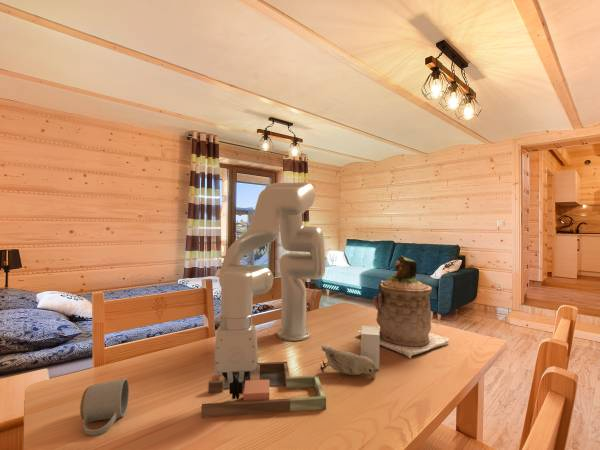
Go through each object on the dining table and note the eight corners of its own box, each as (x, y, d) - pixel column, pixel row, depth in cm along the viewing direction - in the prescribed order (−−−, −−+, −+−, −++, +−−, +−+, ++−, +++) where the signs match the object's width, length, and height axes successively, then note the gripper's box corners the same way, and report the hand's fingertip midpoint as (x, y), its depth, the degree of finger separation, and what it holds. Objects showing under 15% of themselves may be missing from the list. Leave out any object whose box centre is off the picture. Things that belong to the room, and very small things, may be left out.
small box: (379, 370, 93) (380, 335, 93) (360, 368, 94) (360, 333, 94) (378, 358, 101) (378, 326, 101) (360, 357, 102) (361, 325, 102)
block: (245, 396, 79) (245, 380, 79) (269, 395, 79) (269, 379, 79) (243, 410, 73) (243, 393, 73) (269, 409, 73) (269, 392, 73)
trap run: (214, 373, 90) (214, 365, 90) (311, 368, 94) (311, 360, 94) (201, 417, 70) (201, 406, 70) (326, 408, 74) (326, 398, 74)
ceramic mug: (90, 409, 72) (89, 377, 72) (129, 403, 75) (129, 372, 75) (72, 441, 62) (71, 404, 62) (118, 433, 65) (118, 397, 65)
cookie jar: (452, 344, 114) (454, 256, 113) (410, 360, 100) (411, 260, 99) (396, 324, 134) (398, 250, 134) (355, 336, 120) (356, 253, 120)
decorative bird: (375, 384, 85) (375, 357, 85) (318, 374, 90) (318, 348, 90) (376, 375, 90) (376, 349, 90) (322, 366, 95) (322, 342, 95)
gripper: (202, 327, 71) (201, 407, 72) (267, 325, 73) (267, 403, 73) (207, 317, 79) (207, 389, 79) (267, 315, 81) (266, 386, 81)
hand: (236, 395), depth 76 cm, fingers closed
